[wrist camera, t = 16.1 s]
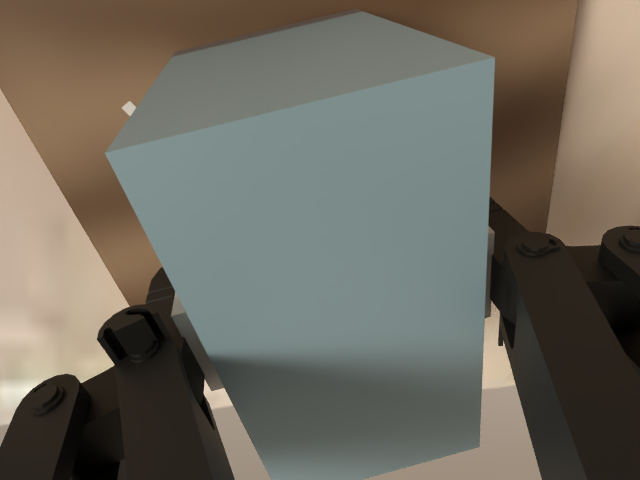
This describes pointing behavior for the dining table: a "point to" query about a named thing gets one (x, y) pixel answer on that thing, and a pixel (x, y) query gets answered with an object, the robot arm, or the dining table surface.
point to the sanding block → (326, 234)
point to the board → (236, 20)
